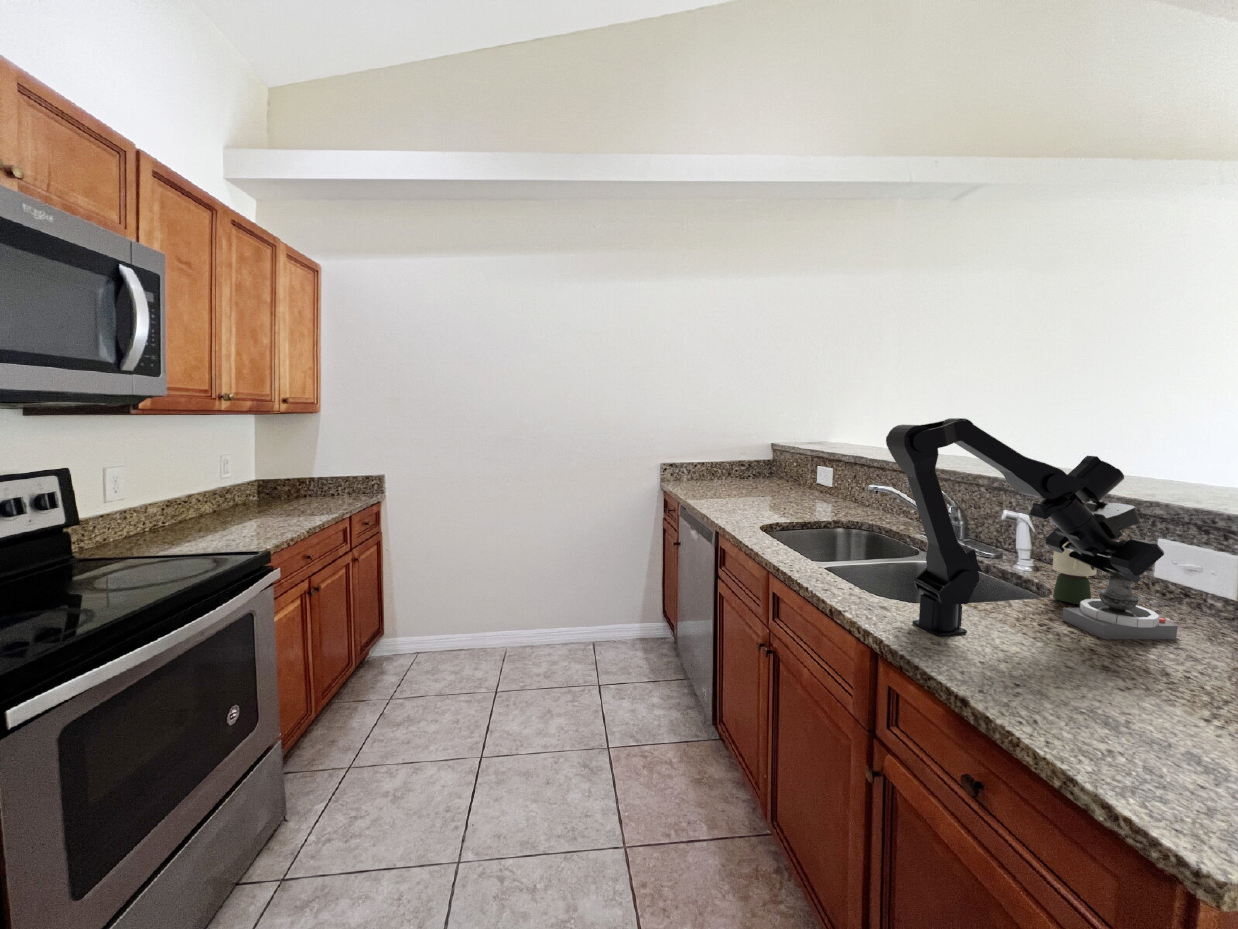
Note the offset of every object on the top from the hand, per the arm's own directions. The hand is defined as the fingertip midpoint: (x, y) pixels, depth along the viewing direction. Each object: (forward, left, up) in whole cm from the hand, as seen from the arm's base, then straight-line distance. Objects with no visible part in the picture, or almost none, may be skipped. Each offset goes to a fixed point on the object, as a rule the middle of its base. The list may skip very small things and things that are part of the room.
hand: (1127, 578), depth 99 cm
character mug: (+6, +13, -10) cm, 18 cm away
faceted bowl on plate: (-1, 0, -10) cm, 10 cm away
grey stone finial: (-1, 0, -7) cm, 7 cm away
